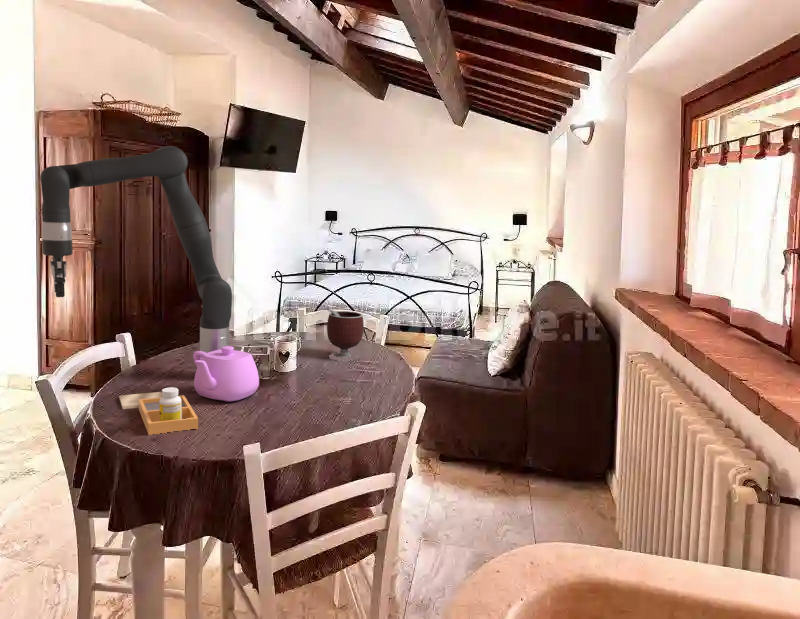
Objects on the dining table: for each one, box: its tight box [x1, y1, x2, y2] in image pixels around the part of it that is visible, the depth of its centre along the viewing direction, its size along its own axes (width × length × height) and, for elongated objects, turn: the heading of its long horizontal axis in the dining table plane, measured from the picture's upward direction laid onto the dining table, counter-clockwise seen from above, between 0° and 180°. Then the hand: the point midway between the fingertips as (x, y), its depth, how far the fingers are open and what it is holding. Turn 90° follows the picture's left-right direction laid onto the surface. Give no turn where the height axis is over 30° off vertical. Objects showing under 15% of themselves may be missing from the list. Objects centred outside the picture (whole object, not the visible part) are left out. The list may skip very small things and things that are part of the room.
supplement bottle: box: [159, 386, 182, 421], centre depth 165 cm, size 5×5×10 cm
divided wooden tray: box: [138, 394, 199, 436], centre depth 170 cm, size 12×20×3 cm, turn 29°
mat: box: [118, 391, 163, 410], centre depth 183 cm, size 12×10×1 cm
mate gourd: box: [326, 308, 365, 358], centre depth 243 cm, size 16×14×20 cm
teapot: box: [192, 345, 260, 403], centre depth 189 cm, size 23×21×15 cm
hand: (59, 294), depth 183 cm, fingers open, 8 cm apart
